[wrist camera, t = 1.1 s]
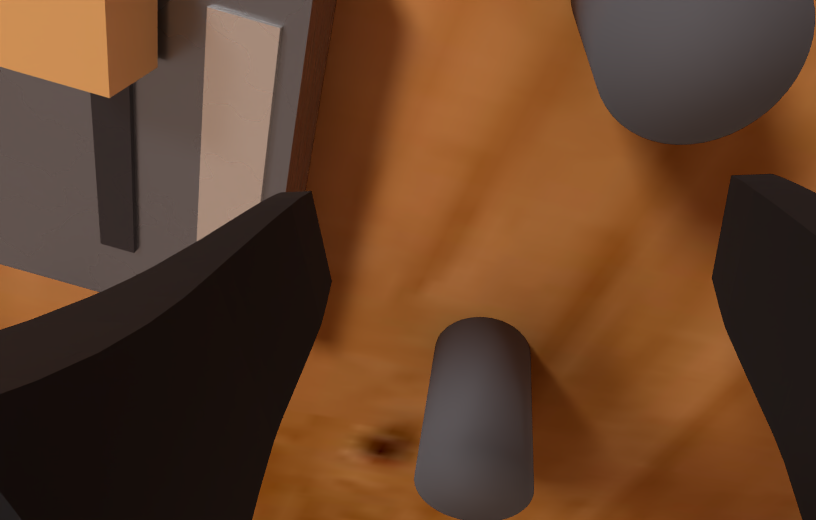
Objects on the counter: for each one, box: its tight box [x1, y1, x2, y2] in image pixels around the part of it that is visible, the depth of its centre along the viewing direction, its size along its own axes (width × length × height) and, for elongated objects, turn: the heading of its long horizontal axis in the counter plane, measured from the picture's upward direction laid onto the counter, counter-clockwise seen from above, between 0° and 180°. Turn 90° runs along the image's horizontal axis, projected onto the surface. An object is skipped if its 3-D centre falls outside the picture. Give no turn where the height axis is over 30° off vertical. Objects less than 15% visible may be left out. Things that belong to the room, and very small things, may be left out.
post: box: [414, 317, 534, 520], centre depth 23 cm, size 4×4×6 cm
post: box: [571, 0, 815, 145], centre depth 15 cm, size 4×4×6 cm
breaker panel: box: [0, 0, 336, 292], centre depth 20 cm, size 11×14×3 cm
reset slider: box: [0, 0, 158, 98], centre depth 15 cm, size 3×3×3 cm
